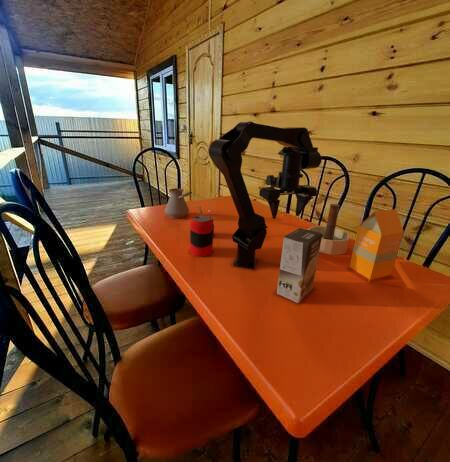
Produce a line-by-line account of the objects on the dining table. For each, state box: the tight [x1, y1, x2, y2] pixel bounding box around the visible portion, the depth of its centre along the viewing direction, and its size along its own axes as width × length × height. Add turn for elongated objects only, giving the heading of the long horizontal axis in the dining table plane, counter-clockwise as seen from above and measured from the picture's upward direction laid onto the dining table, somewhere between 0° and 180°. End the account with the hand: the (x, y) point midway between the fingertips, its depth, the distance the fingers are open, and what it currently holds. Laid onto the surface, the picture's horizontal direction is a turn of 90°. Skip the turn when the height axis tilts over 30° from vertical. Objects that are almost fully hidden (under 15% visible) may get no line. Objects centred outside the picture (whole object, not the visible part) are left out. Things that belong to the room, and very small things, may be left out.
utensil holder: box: [197, 204, 215, 236], centre depth 99 cm, size 6×6×12 cm
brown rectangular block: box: [324, 203, 340, 240], centre depth 91 cm, size 5×5×16 cm
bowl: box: [307, 225, 351, 256], centre depth 92 cm, size 14×14×6 cm
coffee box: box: [276, 227, 322, 304], centre depth 64 cm, size 9×6×16 cm
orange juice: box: [349, 208, 405, 283], centre depth 74 cm, size 8×9×20 cm
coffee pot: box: [164, 187, 195, 219], centre depth 116 cm, size 21×12×15 cm, turn 34°
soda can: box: [189, 215, 214, 257], centre depth 85 cm, size 8×8×12 cm
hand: (285, 217), depth 84 cm, fingers open, 9 cm apart
